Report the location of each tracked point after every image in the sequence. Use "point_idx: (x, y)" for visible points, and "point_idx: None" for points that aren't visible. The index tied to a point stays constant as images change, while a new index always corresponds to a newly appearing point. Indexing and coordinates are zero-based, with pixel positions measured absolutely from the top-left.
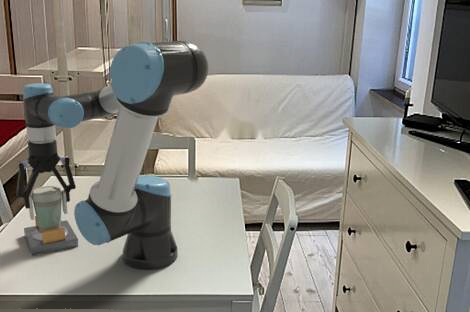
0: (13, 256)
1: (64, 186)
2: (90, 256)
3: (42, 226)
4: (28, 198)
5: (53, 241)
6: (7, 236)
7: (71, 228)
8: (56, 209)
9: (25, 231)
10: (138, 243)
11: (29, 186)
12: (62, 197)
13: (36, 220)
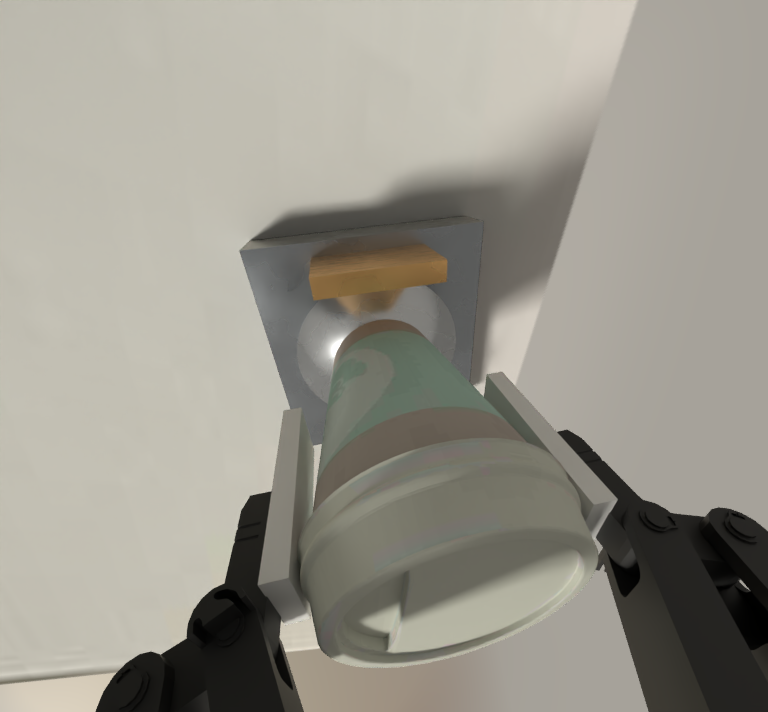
0: (530, 240)
1: (253, 702)
2: (155, 57)
3: (431, 343)
4: (610, 506)
5: (374, 251)
6: None
7: (281, 374)
8: (361, 405)
9: None
10: None
11: (755, 680)
12: None
13: None
